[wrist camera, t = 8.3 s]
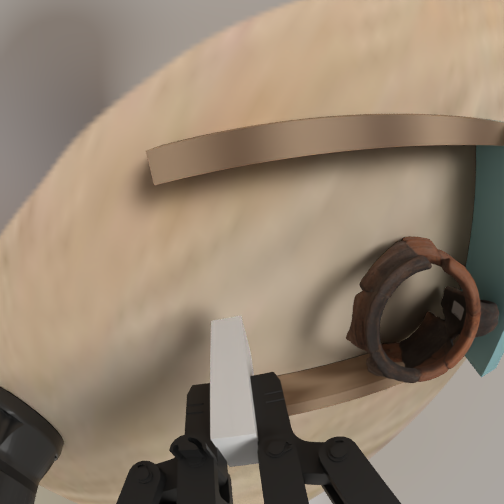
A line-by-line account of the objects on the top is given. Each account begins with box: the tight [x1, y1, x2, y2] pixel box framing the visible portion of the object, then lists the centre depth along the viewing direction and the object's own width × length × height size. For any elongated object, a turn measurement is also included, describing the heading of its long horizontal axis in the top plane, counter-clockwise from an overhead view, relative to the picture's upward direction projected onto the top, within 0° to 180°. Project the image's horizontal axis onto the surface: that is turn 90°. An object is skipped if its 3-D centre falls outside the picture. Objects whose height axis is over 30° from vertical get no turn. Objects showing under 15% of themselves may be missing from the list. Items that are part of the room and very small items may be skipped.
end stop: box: [461, 118, 504, 377], centre depth 15 cm, size 2×19×6 cm, turn 10°
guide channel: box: [146, 114, 504, 416], centre depth 16 cm, size 20×19×3 cm
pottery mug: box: [346, 237, 499, 383], centre depth 16 cm, size 12×10×8 cm
